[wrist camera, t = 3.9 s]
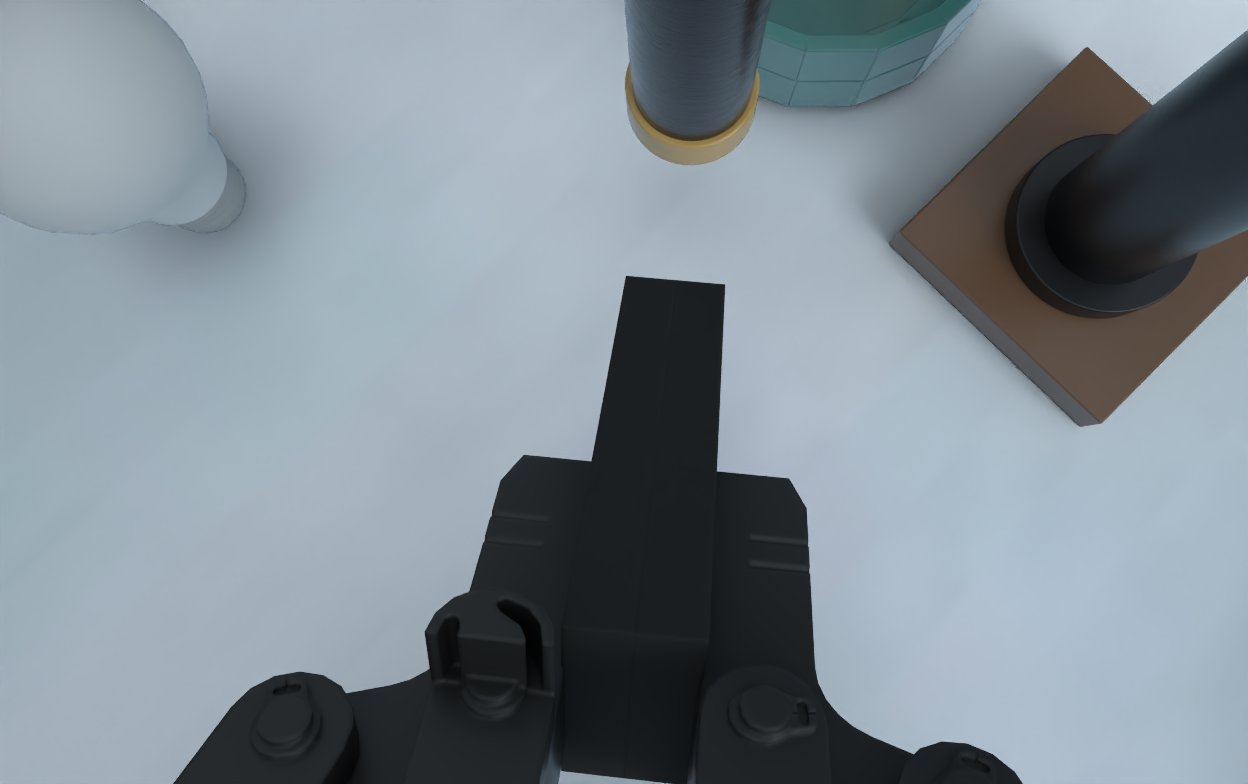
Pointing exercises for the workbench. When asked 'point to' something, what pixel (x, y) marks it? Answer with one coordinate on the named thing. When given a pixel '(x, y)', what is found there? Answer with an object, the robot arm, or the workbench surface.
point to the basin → (853, 47)
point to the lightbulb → (106, 122)
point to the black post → (1097, 227)
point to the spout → (693, 74)
